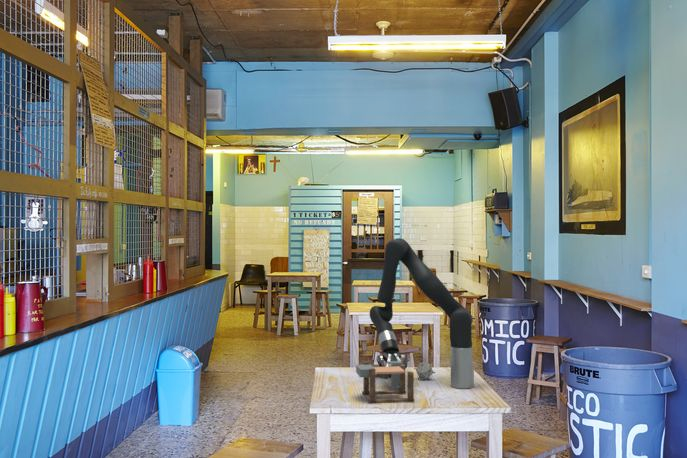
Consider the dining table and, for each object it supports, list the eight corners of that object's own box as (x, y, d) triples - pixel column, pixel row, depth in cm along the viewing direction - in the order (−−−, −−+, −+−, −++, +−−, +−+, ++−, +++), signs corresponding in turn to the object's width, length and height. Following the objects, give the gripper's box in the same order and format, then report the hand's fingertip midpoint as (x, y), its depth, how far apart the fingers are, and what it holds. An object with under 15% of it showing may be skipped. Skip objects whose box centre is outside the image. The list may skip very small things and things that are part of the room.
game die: (428, 387, 280) (441, 369, 280) (421, 383, 274) (434, 366, 273) (414, 375, 286) (427, 358, 286) (407, 371, 279) (420, 354, 279)
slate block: (399, 383, 262) (399, 360, 263) (402, 386, 258) (402, 362, 258) (388, 384, 261) (387, 361, 262) (391, 387, 257) (391, 363, 257)
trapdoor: (399, 370, 252) (399, 363, 252) (405, 376, 241) (405, 368, 241) (356, 372, 249) (356, 364, 249) (360, 377, 239) (360, 369, 239)
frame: (404, 392, 254) (404, 361, 255) (414, 401, 239) (414, 368, 239) (362, 393, 252) (362, 362, 252) (369, 403, 237) (369, 369, 237)
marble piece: (393, 380, 279) (393, 371, 279) (361, 378, 282) (361, 369, 283) (398, 372, 295) (398, 364, 295) (368, 371, 299) (368, 362, 299)
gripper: (374, 339, 266) (381, 372, 254) (405, 337, 269) (414, 370, 257) (371, 349, 271) (378, 382, 259) (402, 347, 274) (411, 380, 262)
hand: (396, 376), depth 258 cm, fingers closed on slate block, 5 cm apart
